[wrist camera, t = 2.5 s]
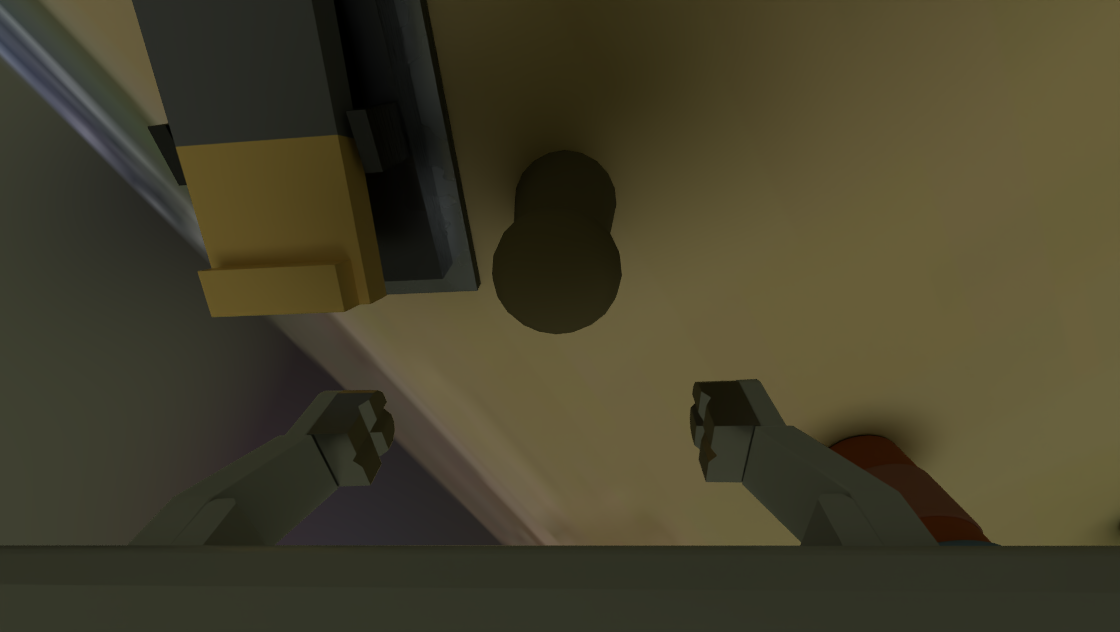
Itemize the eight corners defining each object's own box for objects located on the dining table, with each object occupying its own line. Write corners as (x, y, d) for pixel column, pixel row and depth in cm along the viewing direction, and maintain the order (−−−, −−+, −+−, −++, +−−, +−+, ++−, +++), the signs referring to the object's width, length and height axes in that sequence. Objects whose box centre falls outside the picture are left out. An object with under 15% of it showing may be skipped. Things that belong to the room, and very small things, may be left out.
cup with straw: (788, 440, 34) (955, 749, 19) (913, 406, 32) (1221, 732, 16) (808, 503, 38) (959, 799, 23) (920, 478, 36) (1172, 790, 20)
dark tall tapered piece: (635, 215, 25) (667, 309, 16) (555, 268, 27) (540, 379, 18) (577, 127, 23) (573, 175, 13) (493, 192, 25) (439, 274, 15)
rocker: (157, -37, 17) (75, -80, 14) (323, -55, 16) (270, -104, 13) (251, 301, 21) (201, 317, 18) (386, 295, 20) (355, 311, 17)
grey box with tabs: (135, -109, 18) (-61, -183, 13) (398, -143, 17) (311, -238, 12) (310, 290, 29) (244, 347, 23) (480, 283, 28) (454, 340, 22)
